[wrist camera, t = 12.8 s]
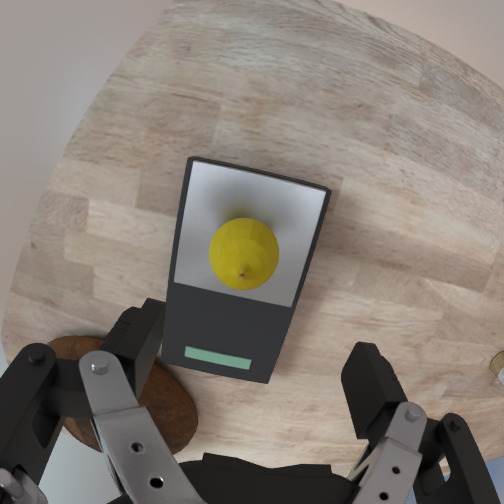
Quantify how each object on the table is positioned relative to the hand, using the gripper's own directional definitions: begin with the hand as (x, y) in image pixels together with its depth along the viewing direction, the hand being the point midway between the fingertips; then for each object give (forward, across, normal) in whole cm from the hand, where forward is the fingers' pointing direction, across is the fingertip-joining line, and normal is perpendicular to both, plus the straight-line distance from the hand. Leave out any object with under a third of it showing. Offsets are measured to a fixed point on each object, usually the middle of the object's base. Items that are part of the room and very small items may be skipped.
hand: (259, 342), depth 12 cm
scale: (+21, +1, +8) cm, 23 cm away
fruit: (+17, +1, +2) cm, 17 cm away
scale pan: (+18, +1, +2) cm, 18 cm away
